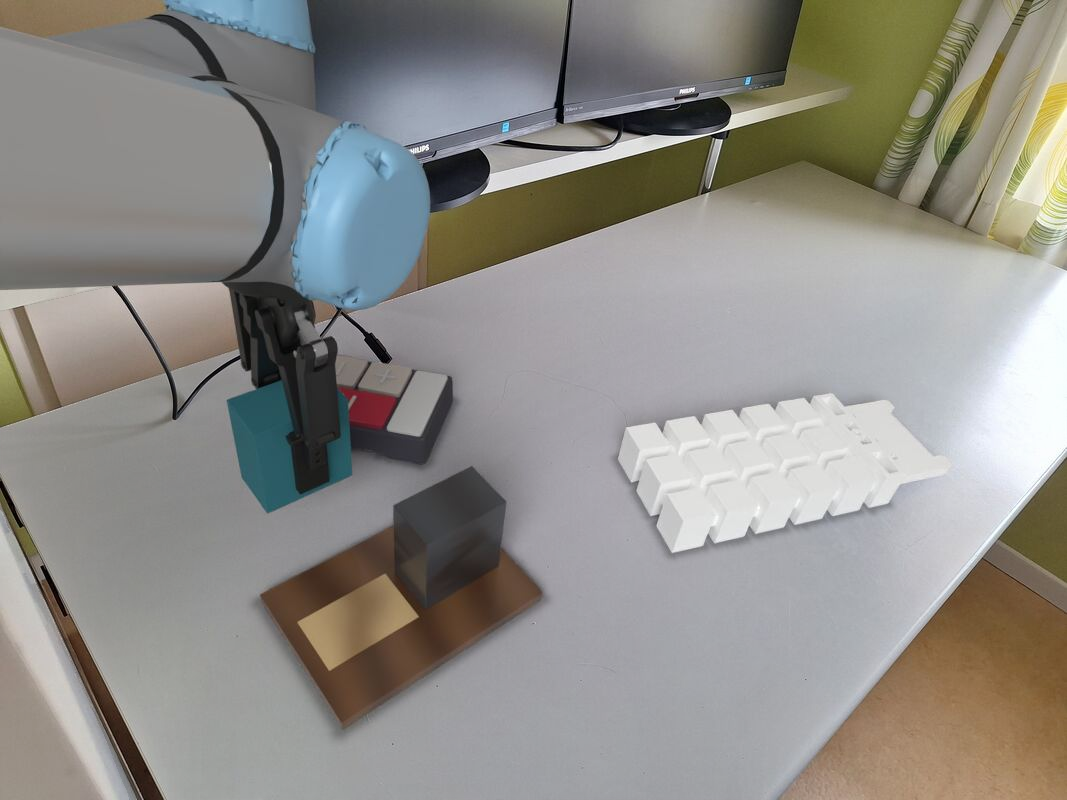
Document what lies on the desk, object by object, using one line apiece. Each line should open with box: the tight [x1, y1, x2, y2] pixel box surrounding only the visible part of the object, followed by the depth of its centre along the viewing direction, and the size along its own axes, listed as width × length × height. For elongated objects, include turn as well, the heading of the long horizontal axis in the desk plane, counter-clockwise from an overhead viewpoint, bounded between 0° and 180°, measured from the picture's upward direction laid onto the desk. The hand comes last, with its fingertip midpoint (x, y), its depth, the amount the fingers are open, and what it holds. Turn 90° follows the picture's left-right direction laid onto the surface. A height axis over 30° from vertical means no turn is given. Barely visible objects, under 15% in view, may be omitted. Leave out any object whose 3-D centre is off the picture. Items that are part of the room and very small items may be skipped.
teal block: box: [226, 380, 353, 515], centre depth 64 cm, size 8×5×9 cm, turn 130°
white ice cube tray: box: [617, 392, 952, 554], centre depth 83 cm, size 13×5×35 cm
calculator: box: [335, 354, 454, 465], centre depth 83 cm, size 11×4×15 cm
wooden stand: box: [259, 465, 543, 731], centre depth 64 cm, size 20×14×10 cm
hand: (297, 464), depth 66 cm, fingers closed on teal block, 5 cm apart
